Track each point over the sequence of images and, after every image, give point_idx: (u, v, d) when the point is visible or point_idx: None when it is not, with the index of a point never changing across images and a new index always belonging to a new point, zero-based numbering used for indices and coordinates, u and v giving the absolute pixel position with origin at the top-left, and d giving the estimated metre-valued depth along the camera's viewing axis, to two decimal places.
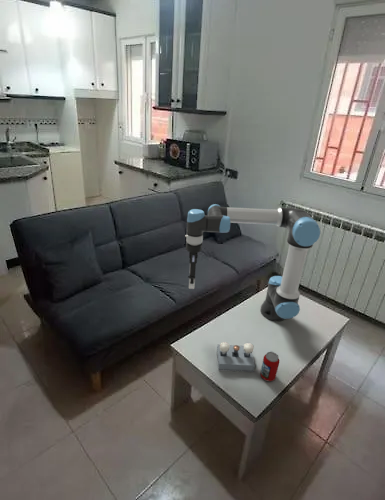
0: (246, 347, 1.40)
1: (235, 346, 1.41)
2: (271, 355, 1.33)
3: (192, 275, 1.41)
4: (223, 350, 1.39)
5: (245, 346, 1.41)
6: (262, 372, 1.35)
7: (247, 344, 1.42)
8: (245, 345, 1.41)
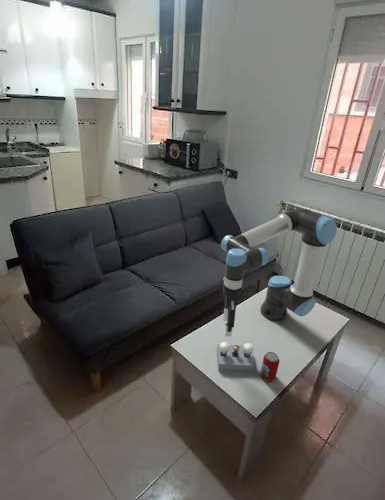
0: (246, 347, 1.40)
1: (235, 346, 1.41)
2: (271, 355, 1.33)
3: (231, 324, 1.25)
4: (223, 350, 1.39)
5: (245, 346, 1.41)
6: (262, 372, 1.35)
7: (247, 344, 1.42)
8: (245, 345, 1.41)
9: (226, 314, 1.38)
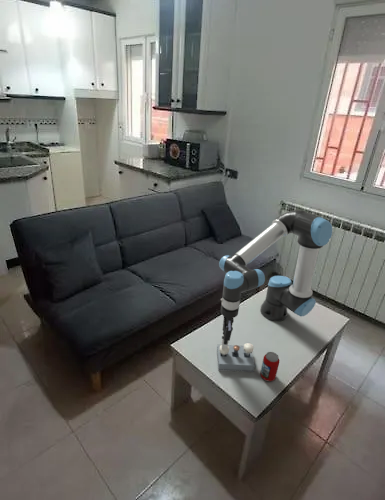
0: (246, 347, 1.40)
1: (235, 346, 1.41)
2: (271, 355, 1.33)
3: (227, 338, 1.34)
4: (223, 352, 1.40)
5: (245, 346, 1.41)
6: (262, 372, 1.35)
7: (247, 344, 1.42)
8: (245, 345, 1.41)
9: None
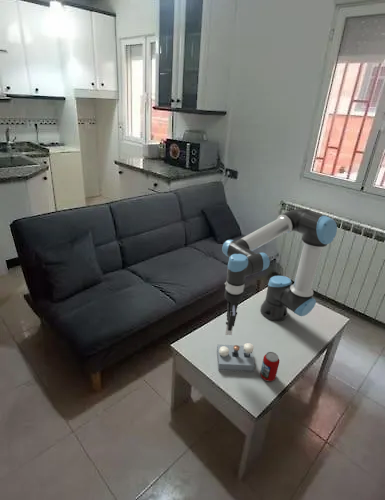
0: (246, 347, 1.40)
1: (235, 346, 1.41)
2: (271, 355, 1.33)
3: (231, 324, 1.30)
4: (222, 354, 1.40)
5: (245, 346, 1.41)
6: (262, 372, 1.35)
7: (247, 344, 1.42)
8: (245, 345, 1.41)
9: None
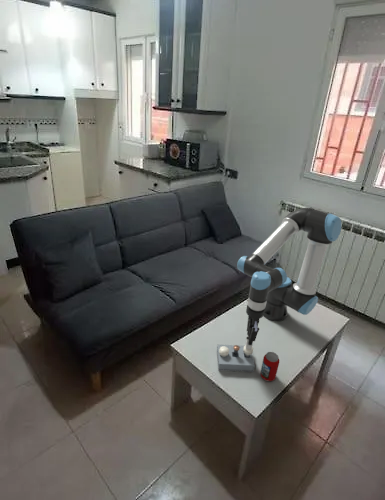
0: (246, 349, 1.41)
1: (235, 346, 1.41)
2: (271, 355, 1.33)
3: (252, 339, 1.34)
4: (222, 354, 1.40)
5: (245, 348, 1.41)
6: (262, 372, 1.35)
7: None
8: None
9: None
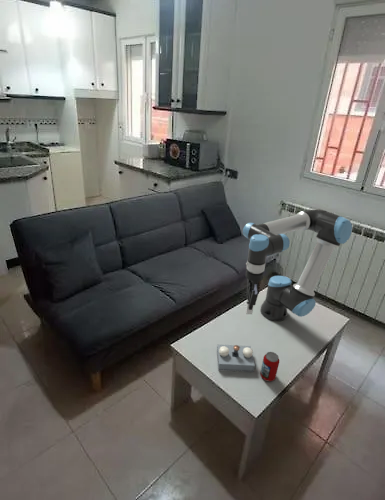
0: (245, 351, 1.41)
1: (235, 346, 1.41)
2: (271, 355, 1.33)
3: (252, 303, 1.35)
4: (222, 354, 1.40)
5: (244, 350, 1.42)
6: (262, 372, 1.35)
7: (246, 348, 1.43)
8: (244, 349, 1.42)
9: None
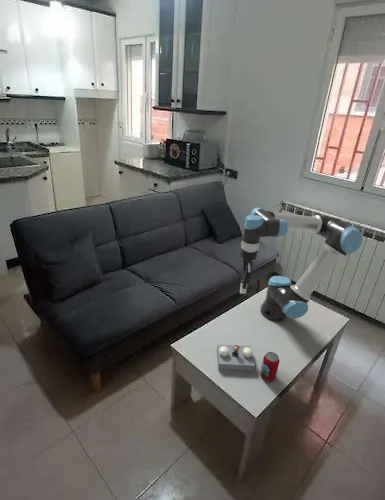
0: (245, 351, 1.41)
1: (235, 346, 1.41)
2: (271, 355, 1.33)
3: (246, 281, 1.42)
4: (222, 354, 1.40)
5: (244, 350, 1.42)
6: (262, 372, 1.35)
7: (246, 348, 1.43)
8: (244, 349, 1.42)
9: None
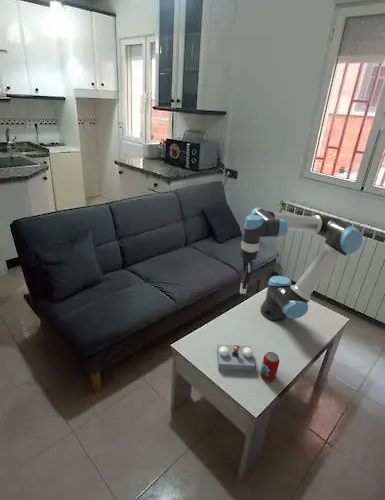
0: (245, 351, 1.41)
1: (235, 346, 1.41)
2: (271, 355, 1.33)
3: (246, 281, 1.42)
4: (222, 354, 1.40)
5: (244, 350, 1.42)
6: (262, 372, 1.35)
7: (246, 348, 1.43)
8: (244, 349, 1.42)
9: None
